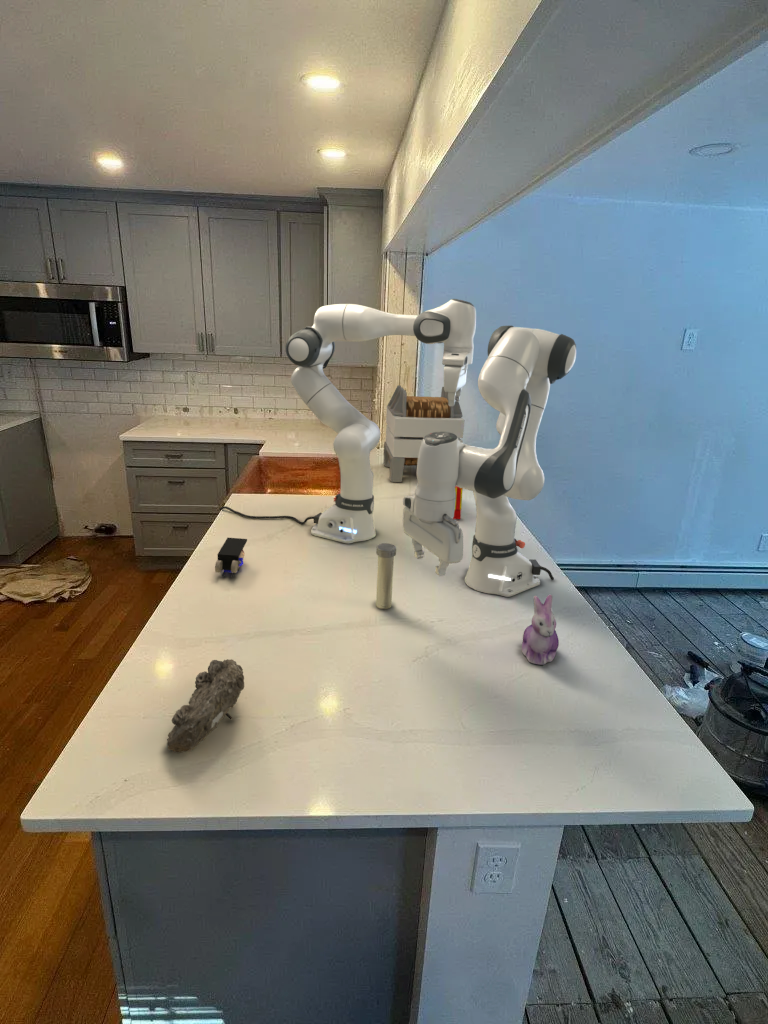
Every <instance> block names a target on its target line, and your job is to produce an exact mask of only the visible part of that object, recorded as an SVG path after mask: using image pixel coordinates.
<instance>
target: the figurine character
mask: <svg viewBox="0 0 768 1024" xmlns="http://www.w3.org/2000/svg"><path fill="white" fill-rule="evenodd" d="M247 542H248V538H240V537H226V539H225V541H224V543H223V544H222V546H221V547H220V549H219V551H218V552H217V560H216V562H215V564H214V572H215V573H221V577H222V578H224V577H225V576H226V574H227V573H230V574H231V573H232V574H231V578H234V577H235V575H236V573H237V572H239V571H240V567H242V566H243V565H244V564H245V562H244V558H245V551H244V547H245V546H246V544H247Z"/></svg>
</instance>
